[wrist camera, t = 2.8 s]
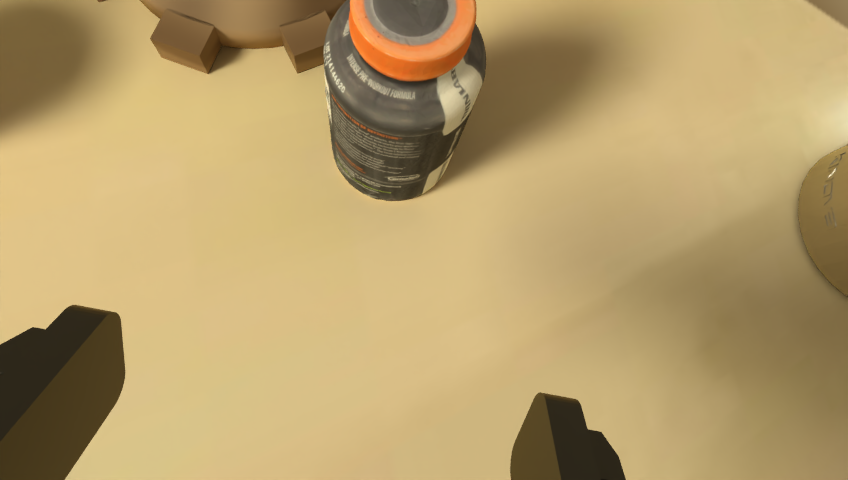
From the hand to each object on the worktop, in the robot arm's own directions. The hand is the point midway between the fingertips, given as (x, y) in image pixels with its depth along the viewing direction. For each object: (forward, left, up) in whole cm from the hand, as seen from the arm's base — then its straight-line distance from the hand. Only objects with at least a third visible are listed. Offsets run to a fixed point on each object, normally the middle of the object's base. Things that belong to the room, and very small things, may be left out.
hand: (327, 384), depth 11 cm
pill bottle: (+2, -11, -15) cm, 19 cm away
